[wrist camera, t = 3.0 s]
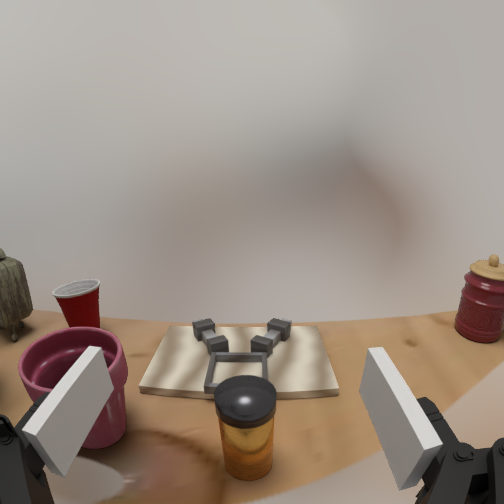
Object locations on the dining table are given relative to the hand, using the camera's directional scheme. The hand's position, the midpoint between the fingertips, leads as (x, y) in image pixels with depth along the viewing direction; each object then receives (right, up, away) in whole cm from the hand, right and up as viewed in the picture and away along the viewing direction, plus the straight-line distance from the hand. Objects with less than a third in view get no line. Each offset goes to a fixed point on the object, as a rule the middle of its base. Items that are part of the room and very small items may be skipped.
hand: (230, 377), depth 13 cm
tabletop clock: (-56, -13, +41) cm, 71 cm away
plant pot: (-20, -18, +19) cm, 33 cm away
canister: (+52, -12, +39) cm, 66 cm away
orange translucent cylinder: (+1, -19, +16) cm, 24 cm away
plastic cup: (-34, -12, +43) cm, 56 cm away
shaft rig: (-1, -13, +37) cm, 39 cm away
